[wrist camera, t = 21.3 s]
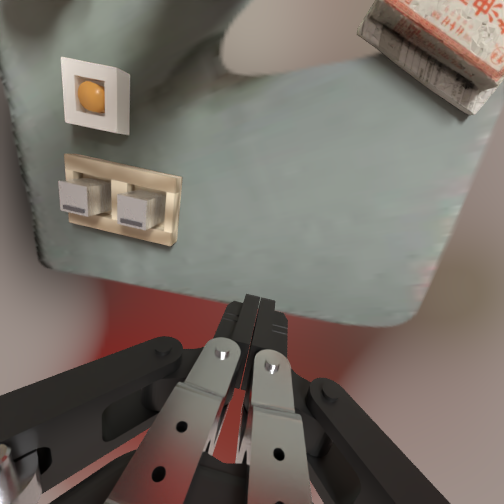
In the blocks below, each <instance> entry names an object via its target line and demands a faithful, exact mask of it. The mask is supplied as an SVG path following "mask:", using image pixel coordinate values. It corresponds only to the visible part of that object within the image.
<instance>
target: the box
mask: <svg viewBox="0 0 504 504" xmlns="http://www.w3.org/2000/svg"><path fill="white" fill-rule="evenodd" d="M61 68H62V82H63V97H64V112H65V122H66V123H70V124H75V125H80V126H85V127H89V128H94V129H99V130H104V131H108V132H113V133H118V134H125V135H129V126H130V74H128V73H126V72H124V71H122V70H120V69H119V68H116V67H111V66H106V65H101V64H96V63H90V62H85V61H80V60H75V59H70V58H65V57H61ZM85 81H90V82H93V83H95V84H98V85H101V86H103V87H104V88H105V113H97V112H93V111H89V110H87V109H85V108H84V107H83V106H82V104H81V103H80V101H79V98H78V88H79V86H80V84H81V83H83V82H85Z"/></svg>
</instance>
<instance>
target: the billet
mask: <svg viewBox="0 0 504 504" xmlns="http://www.w3.org/2000/svg"><path fill="white" fill-rule="evenodd" d="M165 204H166V195H163V194H159V193H154V192H150V191H146V190H141V189H140V190H135V191H130V192H125V193H120V194H117V224H120V225H125V226H129V227H133V228H137V229H142V230H147V229H149V228H151V227H153V226H155V225H157V224H159V223H161V222H163V221H164V218H165Z"/></svg>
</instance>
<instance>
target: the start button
mask: <svg viewBox="0 0 504 504" xmlns="http://www.w3.org/2000/svg"><path fill="white" fill-rule="evenodd" d="M78 98H79V101H80V103H81V104H82V106H83V107H84V108H85V109H87V110H89V111H93V112H97V113H105V88H104V87H103V86H101V85H98V84H95V83H93V82H90V81H85V82H83V83H81V84H80V86H79V88H78Z"/></svg>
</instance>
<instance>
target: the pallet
mask: <svg viewBox="0 0 504 504" xmlns="http://www.w3.org/2000/svg"><path fill="white" fill-rule="evenodd" d="M64 159H65V173H66V180H69V179H80V178H93V179H97V180H102V181H106V182H111V204H112V210H110V211H107V212H103V213H100V214H96V215H93V216H89V217H87V216H83V215H78V214H74V213H70V212H68V214H69V222H71V223H75V224H79V225H83V226H87V227H92V228H96V229H100V230H104V231H108V232H113V233H117V234H121V235H125V236H129V237H134V238H138V239H142V240H146V241H151V242H155V243H159V244H163V245H167V246H171V245H173V244H174V243H175V242H177V232H178V221H179V210H180V199H181V188H182V177H179V176H175V175H170V174H166V173H161V172H157V171H152V170H147V169H143V168H138V167H134V166H129V165H125V164H120V163H116V162H111V161H106V160H102V159H97V158H93V157H88V156H84V155H79V154H64ZM140 189H141V190H146V191H150V192H154V193H159V194H163V195H166V204H165V218H164V221H163V222H161V223H159V224H157V225H155V226H153V227H151V228H149V229H147V230H142V229H137V228H133V227H129V226H125V225H120V224H117V194H120V193H125V192H130V191H135V190H140Z"/></svg>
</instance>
